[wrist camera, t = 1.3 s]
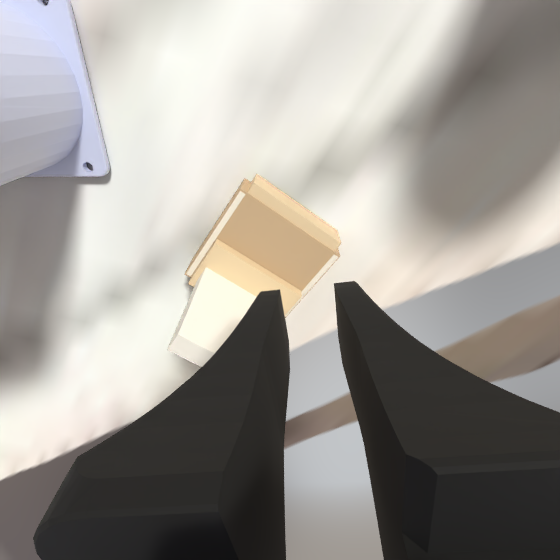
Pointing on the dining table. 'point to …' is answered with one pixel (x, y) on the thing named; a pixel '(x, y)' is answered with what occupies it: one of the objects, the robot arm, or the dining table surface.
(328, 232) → the carton
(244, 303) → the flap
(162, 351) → the dining table surface
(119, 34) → the dining table surface
